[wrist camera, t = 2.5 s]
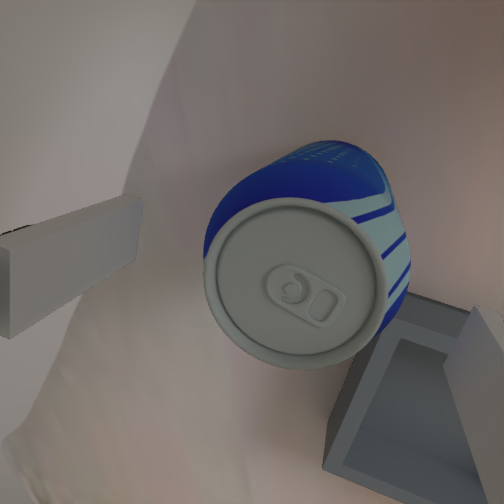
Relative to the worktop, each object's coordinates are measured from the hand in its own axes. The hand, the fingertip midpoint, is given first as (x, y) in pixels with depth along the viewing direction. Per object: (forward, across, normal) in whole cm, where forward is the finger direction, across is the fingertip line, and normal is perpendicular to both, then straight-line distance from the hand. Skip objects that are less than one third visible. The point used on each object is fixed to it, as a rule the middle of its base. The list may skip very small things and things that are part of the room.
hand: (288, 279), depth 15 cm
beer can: (+15, 0, 0) cm, 15 cm away
